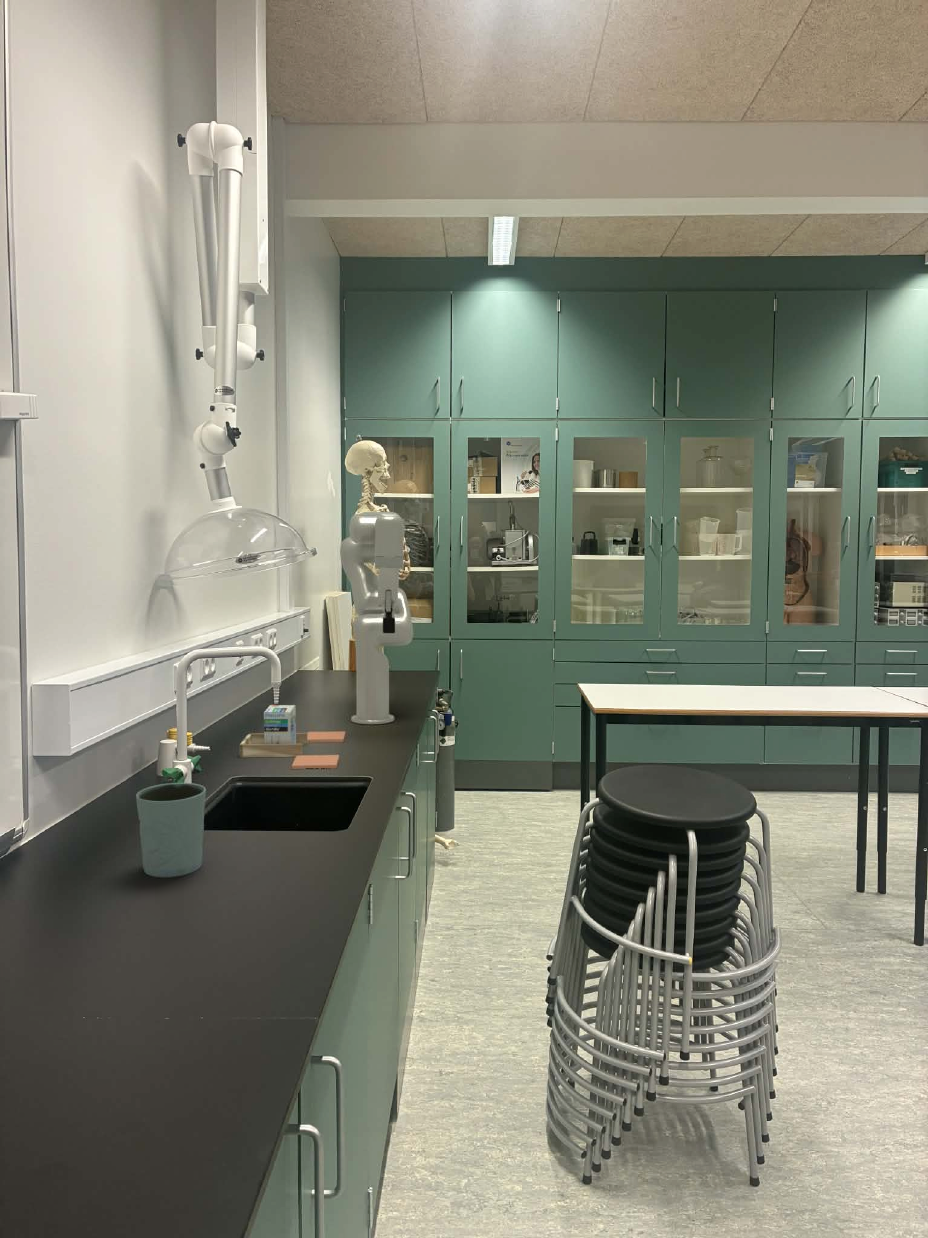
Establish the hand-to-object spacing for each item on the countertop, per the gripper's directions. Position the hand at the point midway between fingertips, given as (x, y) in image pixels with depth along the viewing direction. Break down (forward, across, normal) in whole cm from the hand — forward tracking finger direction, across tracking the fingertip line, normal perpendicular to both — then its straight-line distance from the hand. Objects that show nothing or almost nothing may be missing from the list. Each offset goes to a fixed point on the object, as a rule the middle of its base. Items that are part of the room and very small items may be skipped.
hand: (388, 632), depth 224 cm
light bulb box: (+28, +15, -26) cm, 41 cm away
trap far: (+28, 0, -17) cm, 33 cm away
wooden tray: (+28, +15, -27) cm, 42 cm away
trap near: (+28, +28, -16) cm, 43 cm away
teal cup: (+26, +95, -30) cm, 103 cm away
